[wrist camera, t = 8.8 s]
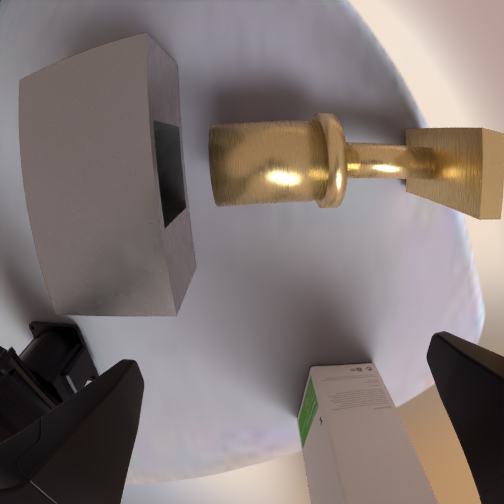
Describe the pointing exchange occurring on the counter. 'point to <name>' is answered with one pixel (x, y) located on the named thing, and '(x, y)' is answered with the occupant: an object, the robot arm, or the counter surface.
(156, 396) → the counter surface
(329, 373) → the skincare box
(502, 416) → the robot arm
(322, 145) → the brass door handle
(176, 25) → the counter surface
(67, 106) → the housing
